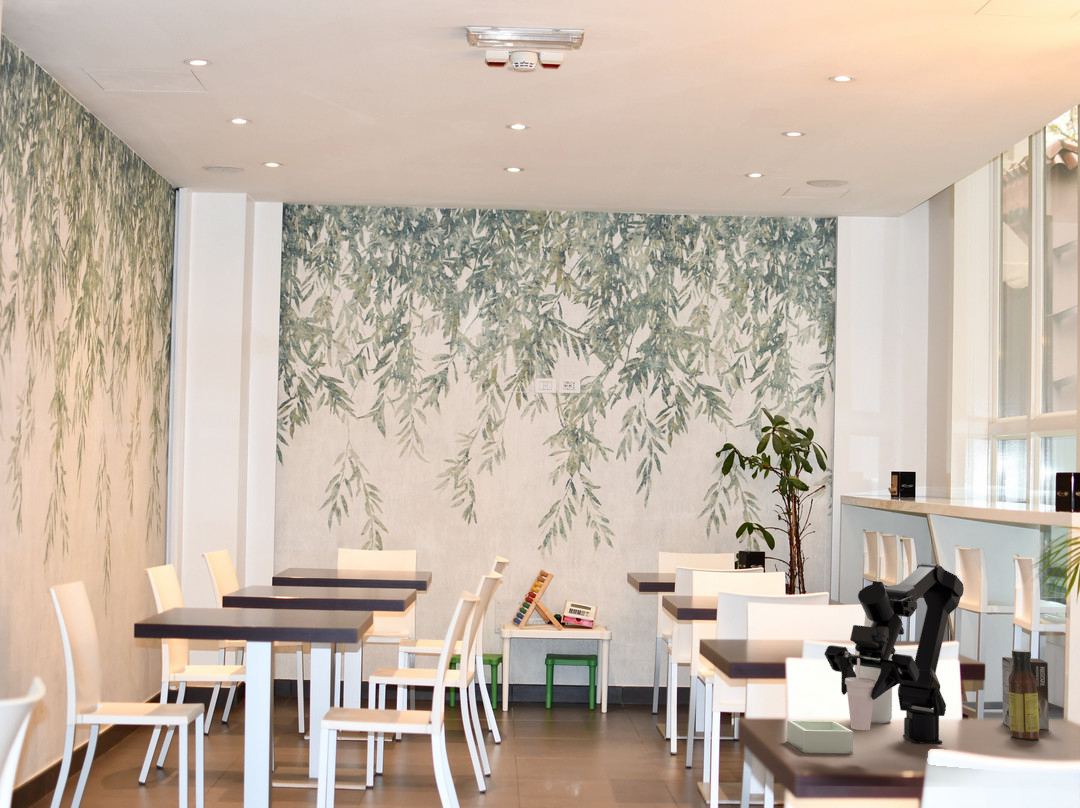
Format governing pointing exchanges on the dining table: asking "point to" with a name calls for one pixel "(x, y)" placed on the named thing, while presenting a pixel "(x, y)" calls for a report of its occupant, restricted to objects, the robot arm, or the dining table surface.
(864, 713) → the smoothie
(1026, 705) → the sauce bottle
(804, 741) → the bin
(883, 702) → the alcohol
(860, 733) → the dining table surface
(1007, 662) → the coffee box
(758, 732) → the dining table surface
